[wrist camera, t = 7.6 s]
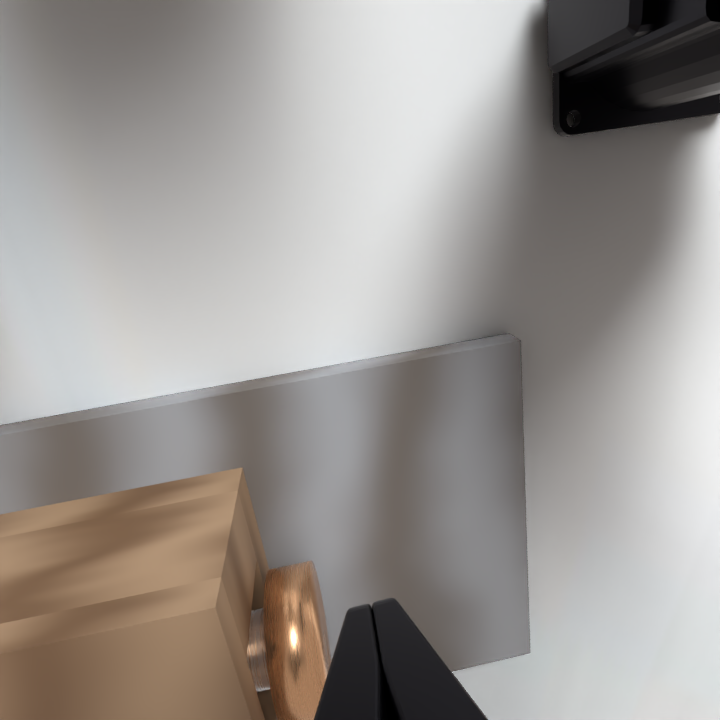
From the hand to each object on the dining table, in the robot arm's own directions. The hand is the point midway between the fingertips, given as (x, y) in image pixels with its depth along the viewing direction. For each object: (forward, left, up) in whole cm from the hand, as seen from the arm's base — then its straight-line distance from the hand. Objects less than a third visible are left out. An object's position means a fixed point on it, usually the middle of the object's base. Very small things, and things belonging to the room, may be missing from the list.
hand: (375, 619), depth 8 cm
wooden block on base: (+4, +7, -11) cm, 14 cm away
